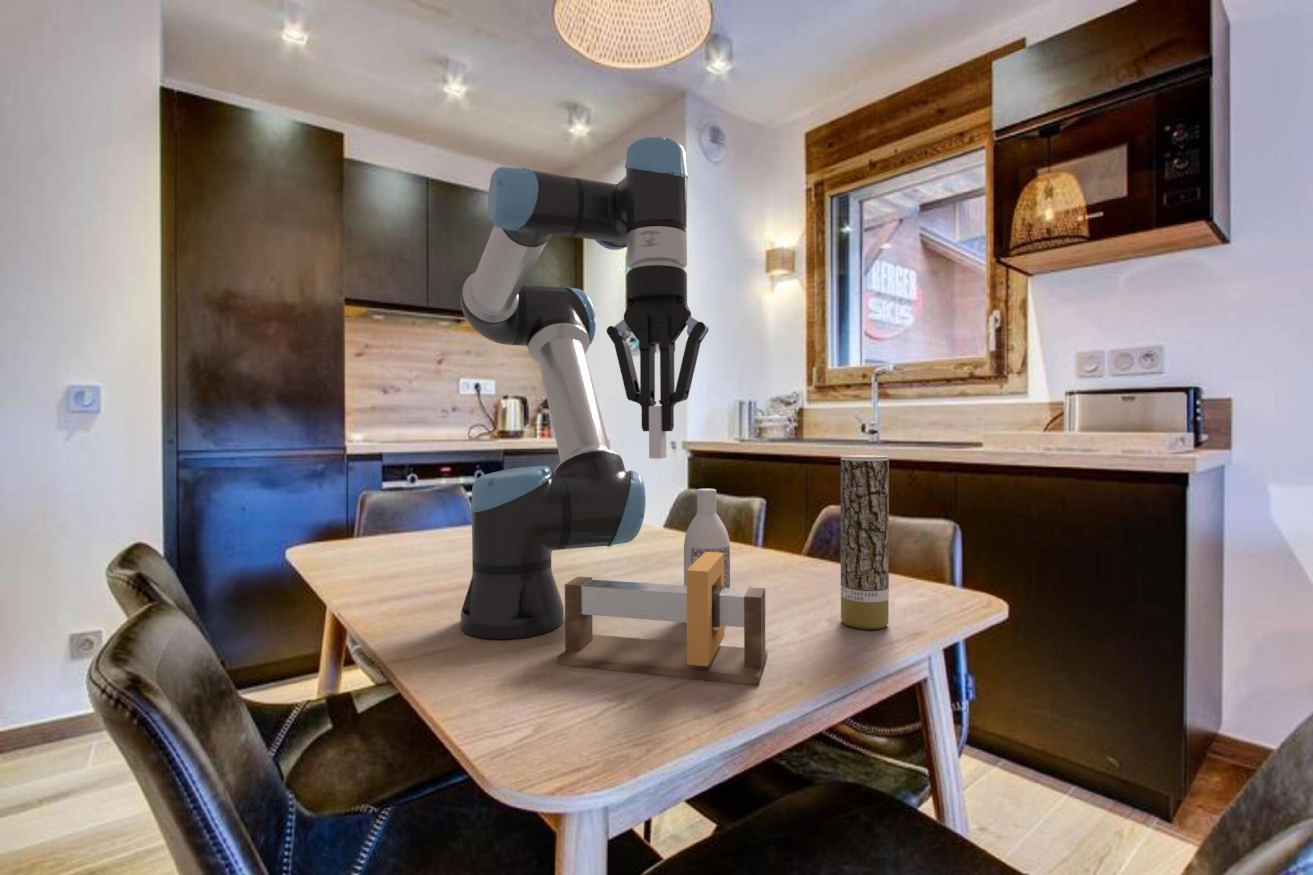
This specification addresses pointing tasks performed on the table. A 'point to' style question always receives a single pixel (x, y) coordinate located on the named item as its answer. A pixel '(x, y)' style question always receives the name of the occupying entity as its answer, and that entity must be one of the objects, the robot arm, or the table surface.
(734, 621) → the rail
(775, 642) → the table surface
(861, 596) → the paper tube
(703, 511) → the bath foam
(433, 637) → the table surface
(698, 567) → the orange square ring
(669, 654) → the brown stand
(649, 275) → the robot arm
